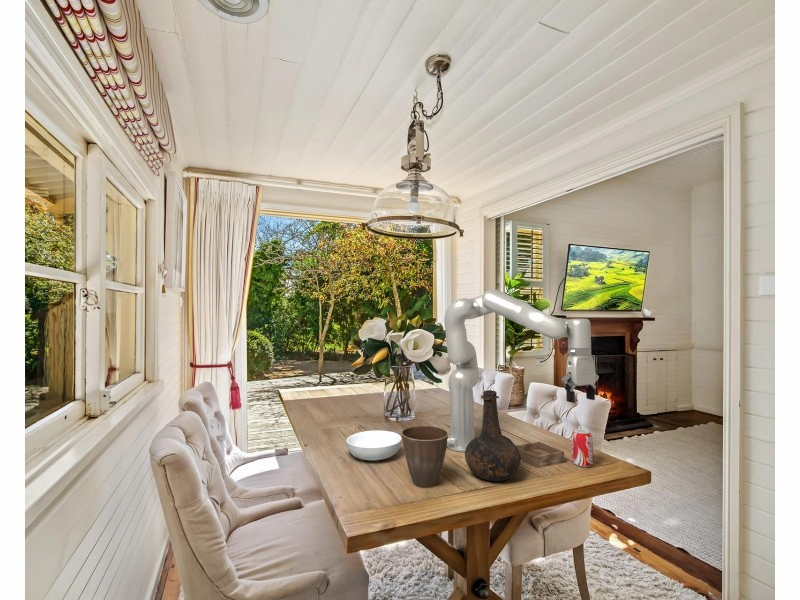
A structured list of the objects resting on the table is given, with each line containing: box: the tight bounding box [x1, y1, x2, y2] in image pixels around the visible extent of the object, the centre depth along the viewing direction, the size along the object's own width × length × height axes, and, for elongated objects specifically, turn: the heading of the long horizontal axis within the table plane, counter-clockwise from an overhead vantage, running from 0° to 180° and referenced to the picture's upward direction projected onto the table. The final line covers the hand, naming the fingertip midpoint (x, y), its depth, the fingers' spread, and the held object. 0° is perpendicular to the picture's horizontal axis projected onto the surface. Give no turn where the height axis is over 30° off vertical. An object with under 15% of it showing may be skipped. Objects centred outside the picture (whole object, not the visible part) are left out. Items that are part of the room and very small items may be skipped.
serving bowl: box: [346, 430, 403, 462], centre depth 149 cm, size 21×21×7 cm
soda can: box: [570, 427, 594, 468], centre depth 140 cm, size 7×7×12 cm
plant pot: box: [401, 425, 449, 489], centre depth 126 cm, size 15×15×16 cm
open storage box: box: [515, 441, 568, 469], centre depth 146 cm, size 14×14×4 cm
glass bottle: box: [464, 389, 522, 482], centre depth 131 cm, size 18×18×28 cm
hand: (580, 400), depth 141 cm, fingers open, 9 cm apart
